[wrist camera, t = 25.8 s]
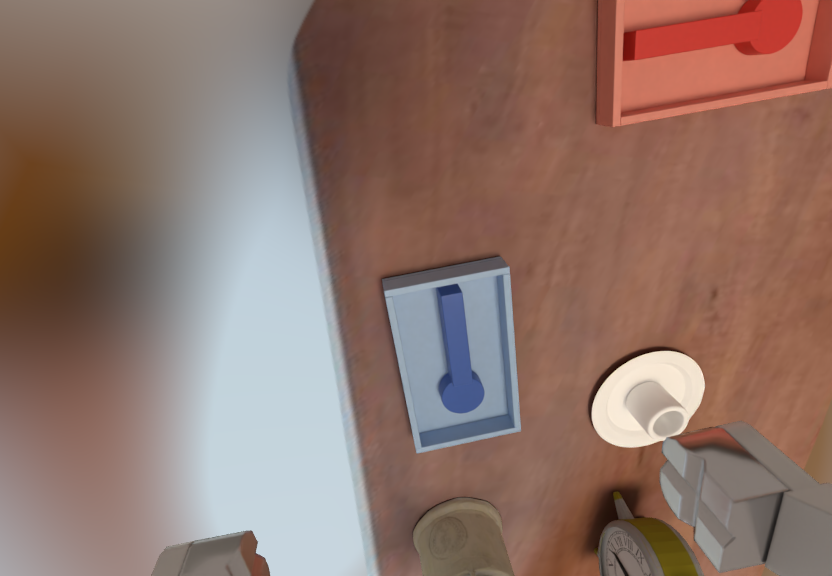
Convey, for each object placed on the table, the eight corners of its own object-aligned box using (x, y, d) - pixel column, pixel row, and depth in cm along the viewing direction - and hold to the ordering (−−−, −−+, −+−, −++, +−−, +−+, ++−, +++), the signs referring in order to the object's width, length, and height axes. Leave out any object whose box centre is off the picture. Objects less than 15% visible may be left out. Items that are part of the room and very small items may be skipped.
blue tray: (381, 278, 38) (383, 291, 36) (500, 255, 39) (509, 266, 37) (413, 435, 46) (416, 453, 43) (512, 414, 46) (521, 431, 44)
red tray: (595, 124, 36) (612, 127, 33) (598, -33, 31) (617, -42, 29) (803, 87, 36) (833, 87, 34) (833, -70, 32) (870, -82, 30)
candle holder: (721, 381, 48) (753, 408, 44) (637, 458, 51) (661, 489, 47) (650, 326, 44) (680, 350, 40) (565, 412, 47) (584, 442, 43)
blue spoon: (422, 286, 39) (427, 298, 36) (469, 277, 39) (476, 289, 37) (441, 406, 44) (446, 423, 42) (482, 398, 44) (488, 414, 42)
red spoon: (615, 78, 34) (633, 78, 32) (617, 16, 32) (637, 11, 30) (778, 50, 35) (806, 48, 32) (788, -12, 33) (819, -18, 31)
